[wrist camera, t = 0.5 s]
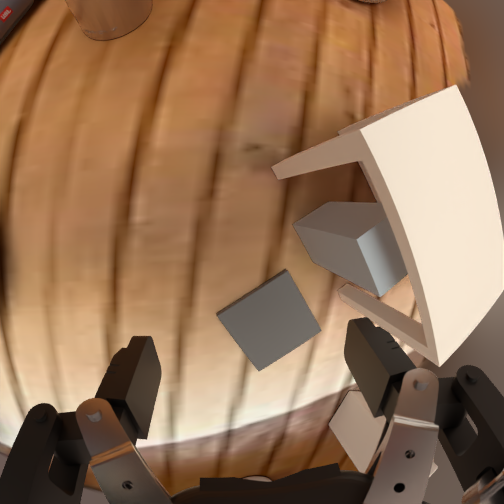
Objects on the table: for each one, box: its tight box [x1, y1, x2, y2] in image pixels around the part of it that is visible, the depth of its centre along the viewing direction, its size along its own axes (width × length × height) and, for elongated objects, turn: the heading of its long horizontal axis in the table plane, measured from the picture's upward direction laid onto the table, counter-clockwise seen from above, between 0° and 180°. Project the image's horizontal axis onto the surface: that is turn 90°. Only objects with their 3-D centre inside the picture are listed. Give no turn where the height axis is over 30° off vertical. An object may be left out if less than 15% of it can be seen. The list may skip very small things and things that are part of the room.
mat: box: [216, 269, 322, 371], centre depth 32 cm, size 9×9×1 cm
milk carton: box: [329, 391, 438, 477], centre depth 29 cm, size 7×7×19 cm
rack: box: [271, 85, 504, 367], centre depth 23 cm, size 11×18×17 cm, turn 31°
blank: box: [293, 202, 408, 297], centre depth 25 cm, size 5×5×13 cm
